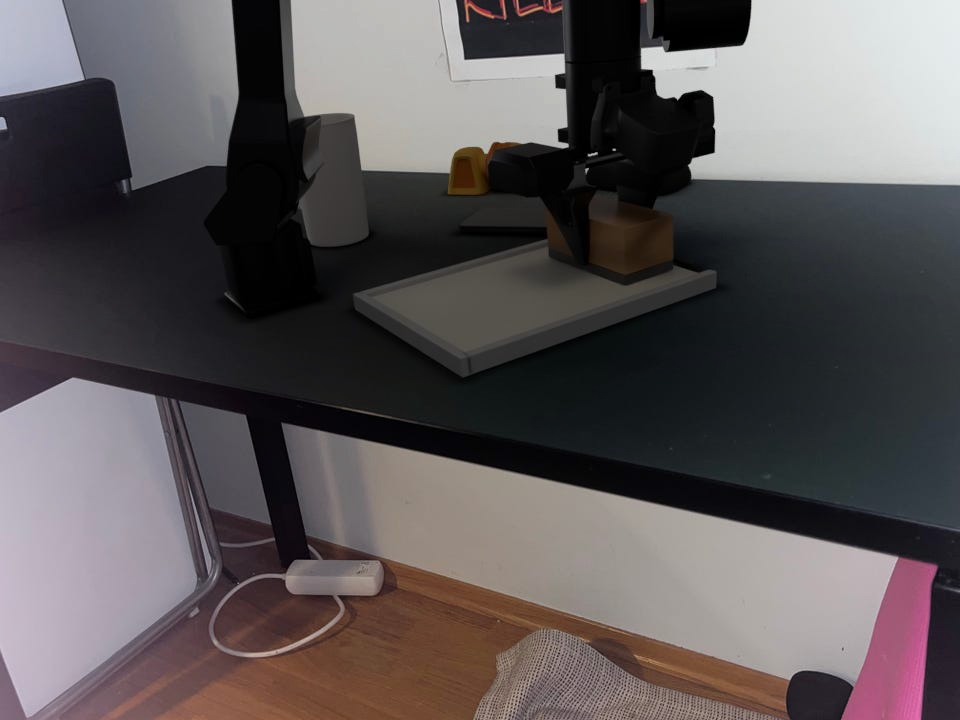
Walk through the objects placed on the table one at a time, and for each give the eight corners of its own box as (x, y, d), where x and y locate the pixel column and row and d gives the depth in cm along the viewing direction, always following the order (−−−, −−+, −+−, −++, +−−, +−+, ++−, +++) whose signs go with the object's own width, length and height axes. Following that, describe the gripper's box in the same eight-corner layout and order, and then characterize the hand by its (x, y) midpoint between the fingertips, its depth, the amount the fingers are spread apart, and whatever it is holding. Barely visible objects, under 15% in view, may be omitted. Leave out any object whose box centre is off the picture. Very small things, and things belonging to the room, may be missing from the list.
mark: (689, 264, 71) (691, 260, 71) (644, 247, 72) (646, 243, 72) (689, 268, 72) (691, 264, 72) (644, 251, 73) (646, 247, 73)
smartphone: (481, 206, 92) (620, 207, 87) (482, 215, 93) (620, 216, 87) (455, 225, 87) (602, 227, 81) (456, 234, 87) (603, 237, 81)
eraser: (625, 285, 67) (624, 228, 65) (548, 257, 75) (545, 205, 73) (673, 269, 69) (673, 214, 67) (594, 243, 77) (592, 193, 75)
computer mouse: (606, 173, 105) (605, 139, 103) (698, 181, 98) (699, 145, 96) (572, 188, 100) (570, 153, 98) (666, 197, 93) (666, 160, 91)
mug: (385, 231, 90) (368, 113, 85) (344, 250, 85) (324, 126, 80) (311, 224, 95) (291, 112, 90) (268, 242, 90) (245, 125, 85)
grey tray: (462, 378, 57) (460, 358, 56) (354, 309, 70) (352, 293, 70) (716, 288, 68) (717, 271, 67) (581, 243, 81) (581, 229, 80)
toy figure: (555, 184, 103) (459, 183, 107) (553, 136, 100) (456, 137, 104) (543, 196, 98) (444, 194, 102) (541, 146, 96) (440, 147, 100)
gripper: (569, 82, 55) (578, 313, 61) (774, 45, 63) (763, 251, 70) (475, 73, 63) (492, 276, 70) (666, 42, 72) (666, 225, 78)
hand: (607, 257), depth 72 cm, fingers closed on eraser, 5 cm apart
